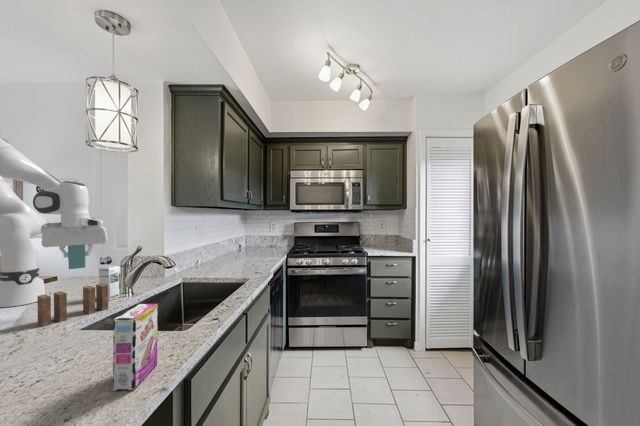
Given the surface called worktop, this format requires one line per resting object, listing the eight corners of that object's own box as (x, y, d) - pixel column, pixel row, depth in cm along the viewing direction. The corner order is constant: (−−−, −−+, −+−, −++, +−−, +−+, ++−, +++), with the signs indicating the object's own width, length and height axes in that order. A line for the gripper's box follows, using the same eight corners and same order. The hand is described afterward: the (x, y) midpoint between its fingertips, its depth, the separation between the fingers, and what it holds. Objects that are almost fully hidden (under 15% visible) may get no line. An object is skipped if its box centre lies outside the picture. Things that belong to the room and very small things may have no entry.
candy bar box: (135, 391, 65) (135, 318, 65) (112, 392, 65) (111, 319, 64) (159, 364, 76) (158, 302, 76) (139, 365, 76) (138, 303, 76)
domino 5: (102, 310, 117) (102, 285, 116) (96, 308, 119) (96, 284, 119) (108, 309, 118) (107, 284, 118) (101, 307, 121) (101, 283, 121)
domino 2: (59, 322, 105) (59, 294, 105) (54, 319, 107) (53, 292, 107) (66, 320, 106) (66, 293, 106) (60, 317, 109) (60, 291, 109)
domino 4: (89, 314, 113) (89, 288, 112) (83, 312, 115) (82, 286, 115) (95, 312, 114) (95, 287, 114) (89, 310, 117) (88, 285, 117)
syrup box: (109, 300, 129) (109, 268, 129) (98, 299, 131) (98, 267, 130) (120, 296, 135) (120, 265, 135) (110, 296, 136) (110, 265, 136)
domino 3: (70, 268, 116) (68, 243, 116) (85, 266, 118) (84, 242, 118) (68, 269, 114) (67, 244, 114) (84, 267, 117) (83, 242, 116)
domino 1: (43, 326, 101) (43, 297, 101) (37, 323, 103) (37, 295, 103) (51, 324, 103) (50, 296, 102) (45, 321, 105) (44, 294, 105)
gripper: (37, 223, 108) (39, 260, 108) (105, 221, 118) (106, 254, 118) (43, 222, 113) (44, 258, 114) (107, 220, 124) (108, 253, 124)
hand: (77, 256), depth 116 cm, fingers closed on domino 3, 5 cm apart
